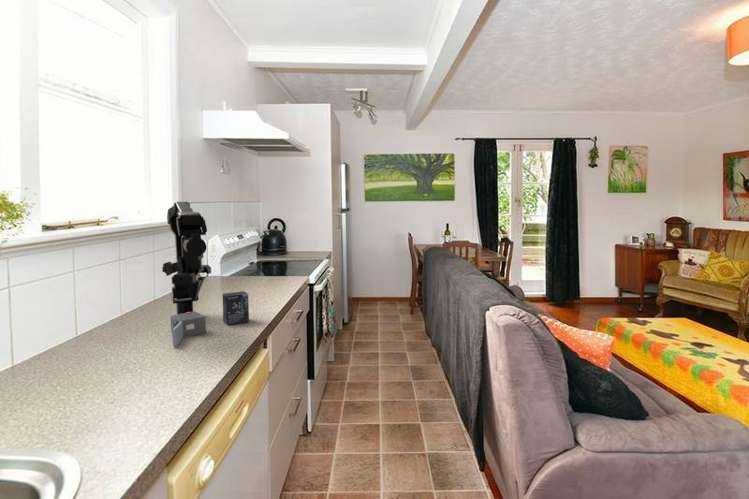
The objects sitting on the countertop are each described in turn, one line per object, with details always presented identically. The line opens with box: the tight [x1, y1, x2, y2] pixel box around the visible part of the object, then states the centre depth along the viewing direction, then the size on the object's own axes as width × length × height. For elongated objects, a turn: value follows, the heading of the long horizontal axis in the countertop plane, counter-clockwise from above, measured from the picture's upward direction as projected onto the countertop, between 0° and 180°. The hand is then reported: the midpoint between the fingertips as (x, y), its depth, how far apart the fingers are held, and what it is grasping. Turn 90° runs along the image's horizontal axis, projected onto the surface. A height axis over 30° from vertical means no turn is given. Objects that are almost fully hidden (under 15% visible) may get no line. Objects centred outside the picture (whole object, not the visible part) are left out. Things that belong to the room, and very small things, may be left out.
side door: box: [171, 321, 184, 347], centre depth 132 cm, size 1×9×5 cm, turn 10°
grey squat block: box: [169, 310, 207, 338], centre depth 142 cm, size 9×9×6 cm
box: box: [222, 290, 250, 326], centre depth 154 cm, size 8×6×11 cm
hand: (193, 300), depth 139 cm, fingers closed
